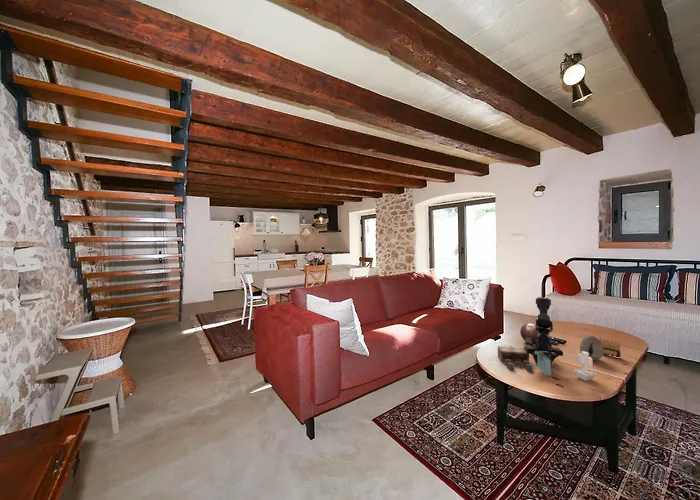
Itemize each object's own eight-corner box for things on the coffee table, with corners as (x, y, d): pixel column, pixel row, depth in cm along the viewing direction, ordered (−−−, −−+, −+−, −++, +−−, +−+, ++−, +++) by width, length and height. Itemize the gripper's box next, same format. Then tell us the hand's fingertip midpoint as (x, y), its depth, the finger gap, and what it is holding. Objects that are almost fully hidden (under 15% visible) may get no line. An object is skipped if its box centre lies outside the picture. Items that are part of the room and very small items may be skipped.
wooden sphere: (519, 344, 211) (519, 324, 210) (520, 338, 224) (521, 319, 223) (544, 348, 203) (544, 327, 202) (544, 341, 215) (544, 321, 215)
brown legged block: (524, 358, 188) (524, 347, 188) (535, 371, 171) (535, 359, 171) (497, 356, 192) (497, 346, 192) (505, 368, 175) (505, 357, 174)
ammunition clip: (620, 358, 186) (621, 339, 185) (620, 358, 185) (620, 340, 184) (598, 353, 194) (599, 335, 193) (598, 353, 193) (598, 336, 192)
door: (534, 364, 180) (534, 350, 180) (540, 364, 179) (540, 350, 179) (543, 375, 166) (543, 359, 166) (550, 375, 166) (550, 360, 165)
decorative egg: (581, 354, 193) (581, 331, 192) (604, 359, 185) (605, 336, 184) (578, 359, 185) (578, 336, 184) (602, 365, 177) (603, 341, 176)
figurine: (597, 380, 159) (598, 353, 159) (584, 382, 157) (585, 355, 156) (584, 374, 166) (584, 348, 166) (571, 376, 164) (572, 350, 163)
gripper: (555, 335, 177) (554, 360, 178) (521, 333, 182) (520, 357, 183) (563, 341, 166) (563, 368, 167) (527, 339, 171) (527, 365, 172)
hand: (542, 364), depth 173 cm, fingers open, 7 cm apart
